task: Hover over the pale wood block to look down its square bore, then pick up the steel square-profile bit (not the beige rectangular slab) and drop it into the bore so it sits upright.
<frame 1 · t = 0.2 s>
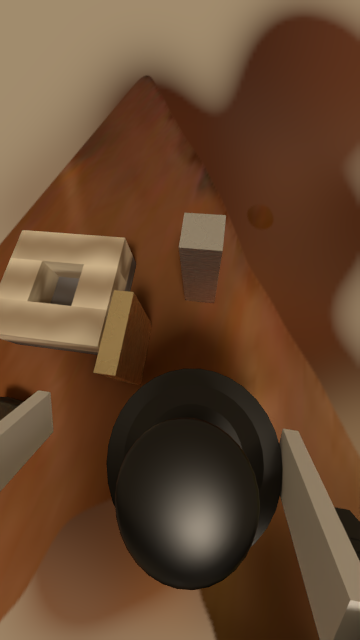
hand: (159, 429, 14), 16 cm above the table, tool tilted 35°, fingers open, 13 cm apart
bore block: (79, 302, 35), on the table
beige rectangular slab: (139, 352, 32), on the table
french press: (201, 429, 28), on the table, touching gripper
square bit: (201, 288, 34), on the table
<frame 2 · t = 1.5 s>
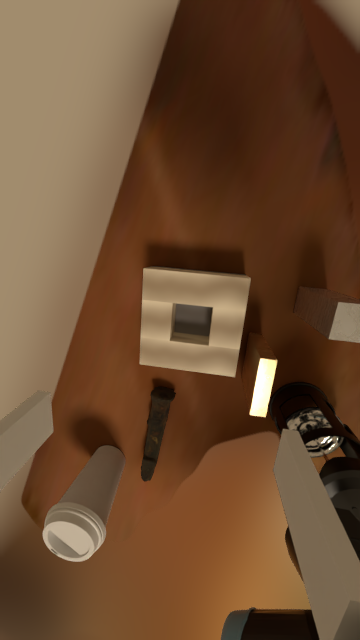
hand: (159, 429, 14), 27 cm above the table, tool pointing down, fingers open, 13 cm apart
hand tool: (160, 428, 47), on the table
coffee cup: (110, 457, 50), on the table
bore block: (194, 314, 39), on the table
beige rectangular slab: (251, 356, 40), on the table
french press: (300, 406, 41), on the table
square bit: (309, 301, 37), on the table
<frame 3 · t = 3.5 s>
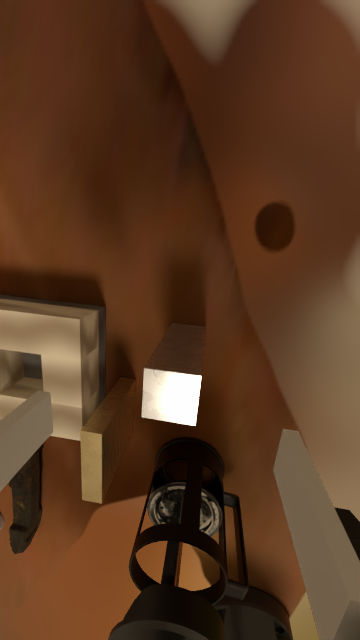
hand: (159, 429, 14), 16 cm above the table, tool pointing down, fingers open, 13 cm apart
hand tool: (40, 484, 39), on the table
bore block: (53, 353, 32), on the table
beige rectangular slab: (127, 405, 32), on the table
french press: (193, 466, 34), on the table
square bit: (187, 340, 29), on the table
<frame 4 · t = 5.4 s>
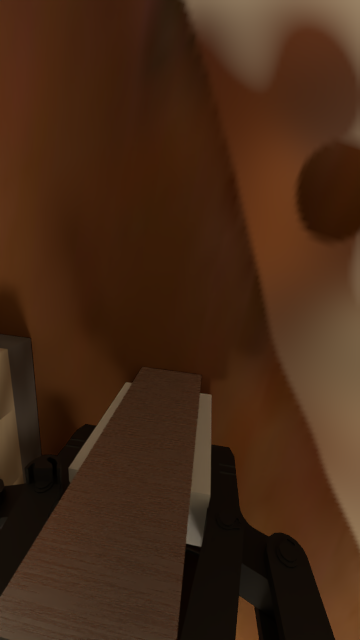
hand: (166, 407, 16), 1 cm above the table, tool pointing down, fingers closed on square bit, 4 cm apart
french press: (182, 576, 22), on the table
square bit: (169, 397, 17), on the table, touching gripper
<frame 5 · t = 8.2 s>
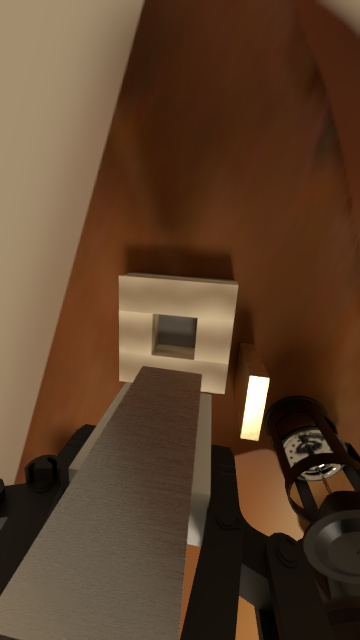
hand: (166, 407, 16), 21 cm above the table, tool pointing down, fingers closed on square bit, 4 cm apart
bore block: (180, 323, 36), on the table
beige rectangular slab: (243, 368, 37), on the table
french press: (299, 422, 38), on the table
square bit: (169, 396, 17), point 20 cm above the table, touching gripper
when the fingers open (8 cm above the table, at t = 11.1 s): square bit drops 4 cm, resting on bore block.
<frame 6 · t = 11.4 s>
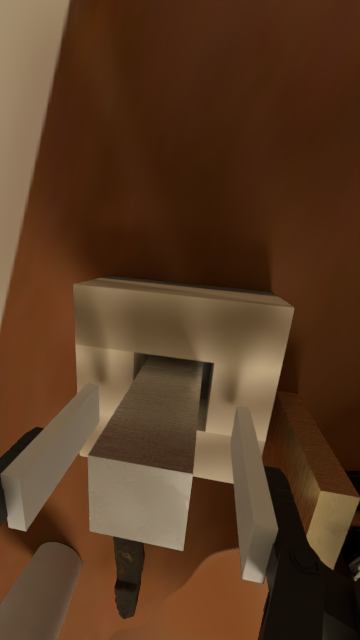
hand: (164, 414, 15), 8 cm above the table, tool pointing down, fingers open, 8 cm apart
hand tool: (139, 524, 30), on the table
coffee cup: (60, 557, 34), on the table
bore block: (181, 357, 23), on the table
beige rectangular slab: (278, 427, 24), on the table
french press: (357, 507, 25), on the table
square bit: (178, 367, 21), point 2 cm above the table, touching bore block
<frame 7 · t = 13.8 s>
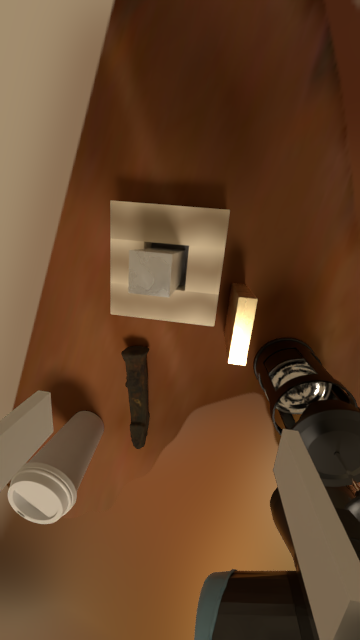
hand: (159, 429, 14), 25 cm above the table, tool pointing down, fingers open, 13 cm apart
hand tool: (145, 392, 44), on the table
coffee cup: (88, 424, 47), on the table
bore block: (172, 262, 36), on the table
beige rectangular slab: (234, 309, 37), on the table
french press: (286, 365, 39), on the table
square bit: (170, 263, 34), point 2 cm above the table, touching bore block
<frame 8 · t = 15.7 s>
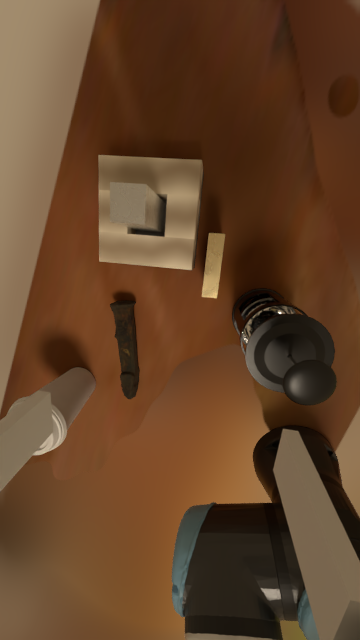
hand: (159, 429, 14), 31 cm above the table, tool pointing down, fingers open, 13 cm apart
hand tool: (134, 347, 47), on the table
coffee cup: (81, 381, 50), on the table
bore block: (156, 219, 40), on the table
beige rectangular slab: (213, 263, 41), on the table
french press: (262, 316, 42), on the table
square bit: (153, 218, 38), point 2 cm above the table, touching bore block
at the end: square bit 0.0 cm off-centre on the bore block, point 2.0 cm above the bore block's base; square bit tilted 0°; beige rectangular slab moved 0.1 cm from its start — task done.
